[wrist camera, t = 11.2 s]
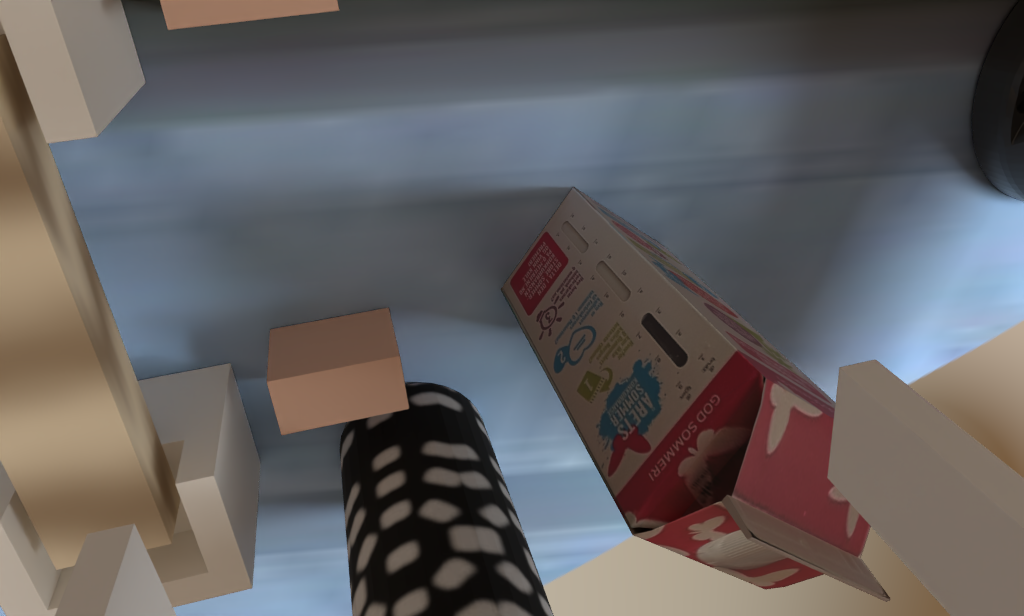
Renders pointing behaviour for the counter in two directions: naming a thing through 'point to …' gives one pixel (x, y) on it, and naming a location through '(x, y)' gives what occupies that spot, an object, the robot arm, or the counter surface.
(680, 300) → the juice carton
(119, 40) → the end caps
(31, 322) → the birch slat
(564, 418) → the counter surface
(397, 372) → the plain brown rectangular block
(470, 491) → the spotted tube
